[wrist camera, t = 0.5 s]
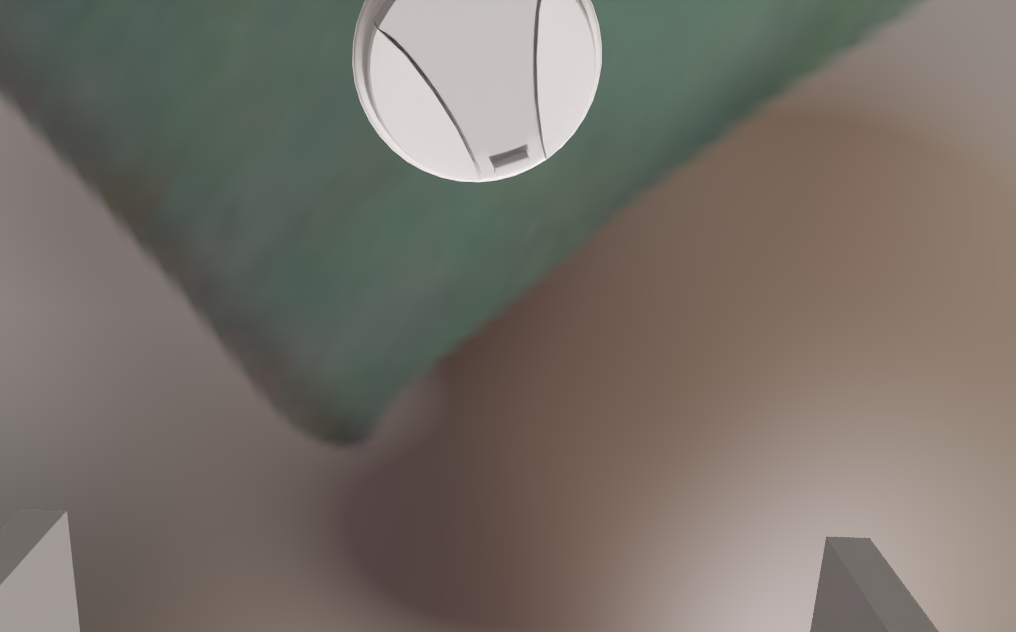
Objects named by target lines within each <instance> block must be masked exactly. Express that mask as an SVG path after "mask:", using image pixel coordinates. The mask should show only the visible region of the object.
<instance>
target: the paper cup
mask: <svg viewBox="0 0 1016 632" xmlns="http://www.w3.org/2000/svg"><path fill="white" fill-rule="evenodd" d="M601 63H602V42H601V36H600V29H599V23H598V20H597V17H596V13H595V10H594V7H593V4H592V2H591V0H365V1H364V3H363V6H362V9H361V12H360V15H359V17H358V20H357V24H356V29H355V34H354V39H353V57H352V65H353V72H354V80H355V85H356V89H357V92H358V96H359V99H360V103H361V105H362V107H363V109H364V111H365V113H366V115H367V117H368V120H369V121H370V123H371V124H372V126H373V127H374V129H375V130H376V132H377V133H378V134H379V136H380V137H381V138H382V139H383V140H384V141H385V142H386V144H387V145H388V146H389V147H390V148H391V149H392V150H393V151H394V152H396V153H397V154H398V155H399V156H401V157H402V158H403V159H405V160H406V161H407V162H409V163H411V164H412V165H414V166H416V167H418V168H419V169H421V170H423V171H425V172H428V173H431V174H433V175H436V176H439V177H441V178H446V179H451V180H456V181H465V182H485V181H495V180H500V179H503V178H507V177H511V176H515V175H517V174H520V173H522V172H524V171H527V170H529V169H531V168H533V167H535V166H536V165H538V164H540V163H541V162H543V161H545V160H546V159H548V158H549V157H550V156H551V155H553V154H554V153H555V152H556V151H558V150H559V149H560V148H561V147H562V146H563V145H564V144H565V143H566V142H567V141H568V139H569V138H570V137H571V136H572V135H573V134H574V133H575V131H576V130H577V128H578V127H579V125H580V124H581V122H582V121H583V119H584V118H585V116H586V114H587V112H588V110H589V108H590V105H591V103H592V101H593V99H594V95H595V92H596V89H597V86H598V82H599V76H600V70H601Z"/></svg>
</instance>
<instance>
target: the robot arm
mask: <svg viewBox="0 0 1016 632" xmlns="http://www.w3.org/2000/svg"><path fill="white" fill-rule="evenodd" d="M72 565H73V564H72V556H71V547H70V537H69V528H68V518H67V511H58V510H27V509H21V510H20V511H19V512H18V513H17V514H16V515H15V516H14V517H13V518H12V519H11V520H10V521H9V522H8V523H7V524H6V525H5V526H4V527H3V528H2V529H1V530H0V632H80V629H79V620H78V610H77V601H76V593H75V583H74V574H73V566H72ZM810 632H938V630H937V629H936V628H935V626H934V625H933V624H932V622H931V621H930V619H929V618H928V617H927V615H926V614H925V613H924V611H923V610H922V609H921V607H920V606H919V604H918V603H917V602H916V600H915V599H914V598H913V596H912V595H911V594H910V592H909V591H908V590H907V588H906V587H905V586H904V584H903V583H902V581H901V580H900V579H899V577H898V576H897V575H896V573H895V572H894V571H893V569H892V568H891V567H890V565H889V564H888V562H887V561H886V560H885V558H884V557H883V556H882V554H881V553H880V552H879V550H878V549H877V547H876V546H875V545H874V544H873V542H872V541H871V539H870V538H849V537H826V542H825V548H824V554H823V560H822V565H821V571H820V578H819V583H818V589H817V596H816V601H815V607H814V613H813V619H812V625H811V630H810Z"/></svg>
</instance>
